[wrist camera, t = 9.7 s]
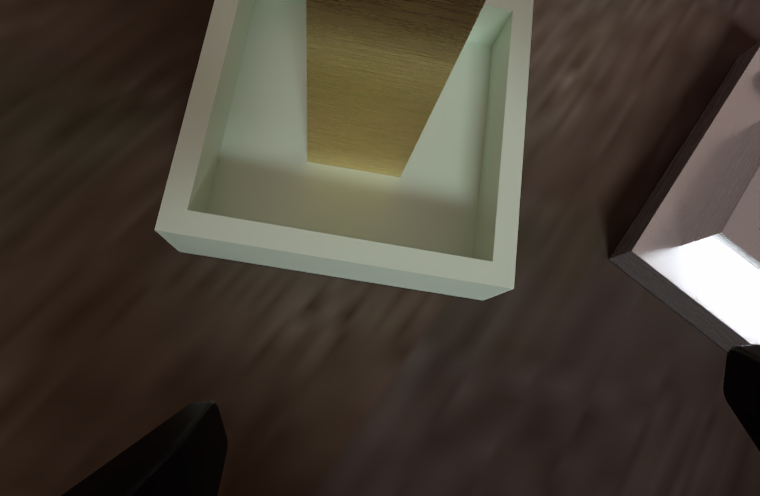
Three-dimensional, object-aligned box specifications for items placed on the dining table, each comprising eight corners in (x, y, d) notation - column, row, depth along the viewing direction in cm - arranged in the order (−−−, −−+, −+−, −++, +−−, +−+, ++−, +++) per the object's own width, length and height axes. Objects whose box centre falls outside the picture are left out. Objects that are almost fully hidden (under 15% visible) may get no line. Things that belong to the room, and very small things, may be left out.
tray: (483, 300, 19) (513, 288, 16) (178, 251, 18) (154, 230, 15) (504, 45, 22) (533, -3, 19) (243, -11, 21) (233, -71, 18)
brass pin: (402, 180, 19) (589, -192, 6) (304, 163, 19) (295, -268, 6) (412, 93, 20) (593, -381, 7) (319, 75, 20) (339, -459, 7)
